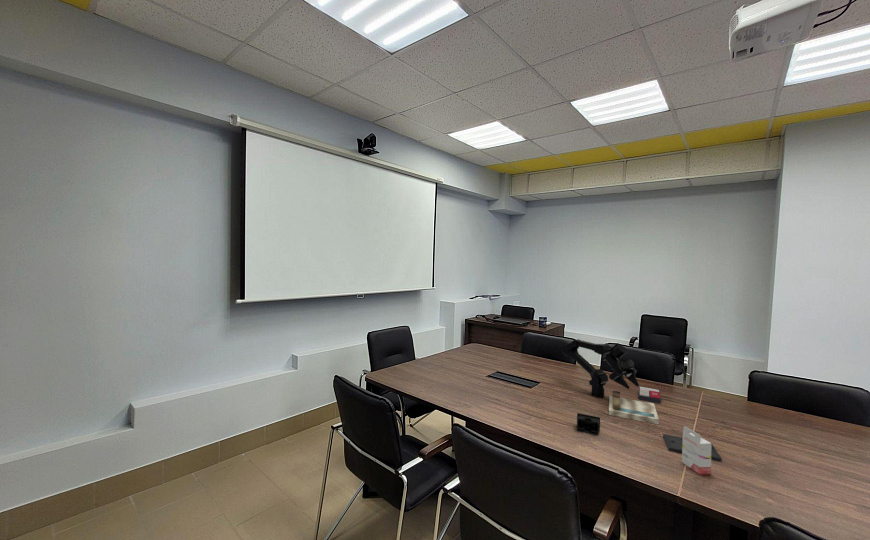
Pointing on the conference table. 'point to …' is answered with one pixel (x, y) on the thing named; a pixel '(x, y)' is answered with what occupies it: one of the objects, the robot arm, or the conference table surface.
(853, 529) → the conference table surface
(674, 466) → the conference table surface
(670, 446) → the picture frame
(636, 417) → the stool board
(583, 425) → the end cap
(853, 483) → the conference table surface
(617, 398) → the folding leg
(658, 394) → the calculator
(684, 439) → the ink cartridge box
